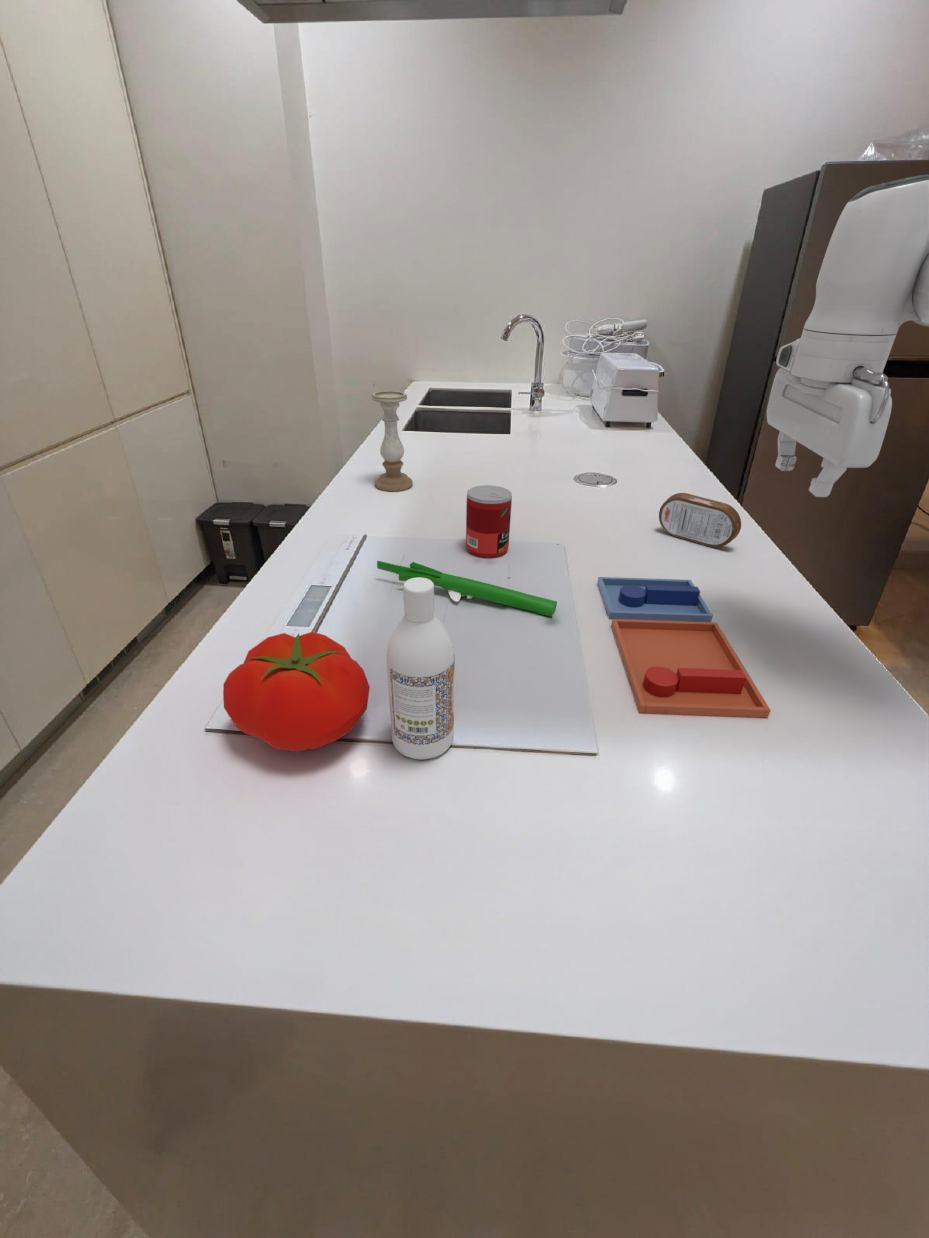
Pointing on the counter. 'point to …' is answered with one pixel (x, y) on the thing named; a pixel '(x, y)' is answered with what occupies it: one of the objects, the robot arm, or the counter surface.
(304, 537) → the counter surface
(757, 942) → the counter surface
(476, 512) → the canned food
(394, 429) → the candle holder
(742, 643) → the counter surface
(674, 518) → the tin
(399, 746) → the bath foam
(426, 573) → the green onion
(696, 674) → the red spoon
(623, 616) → the slate tray
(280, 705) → the tomato
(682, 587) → the blue spoon
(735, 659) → the terracotta tray
